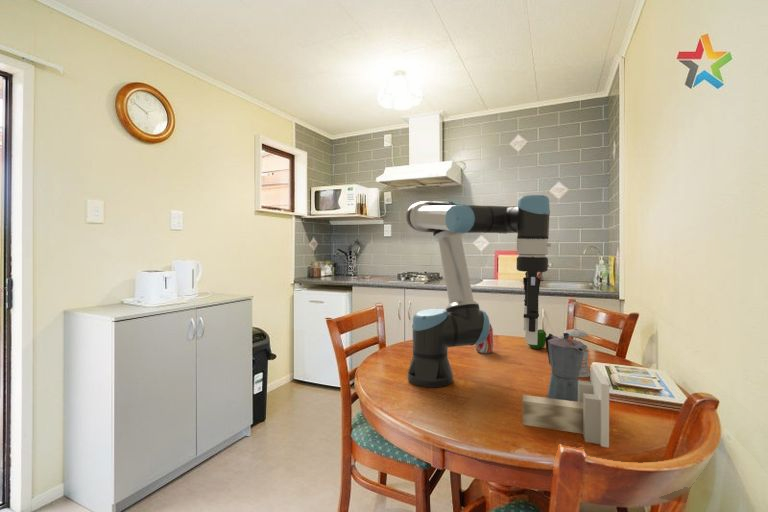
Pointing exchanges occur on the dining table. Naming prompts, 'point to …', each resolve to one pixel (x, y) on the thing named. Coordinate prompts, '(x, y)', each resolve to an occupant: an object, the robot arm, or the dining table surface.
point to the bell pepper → (539, 340)
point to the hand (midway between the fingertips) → (530, 336)
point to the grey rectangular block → (553, 414)
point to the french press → (582, 334)
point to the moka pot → (564, 366)
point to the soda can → (486, 343)
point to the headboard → (595, 407)
